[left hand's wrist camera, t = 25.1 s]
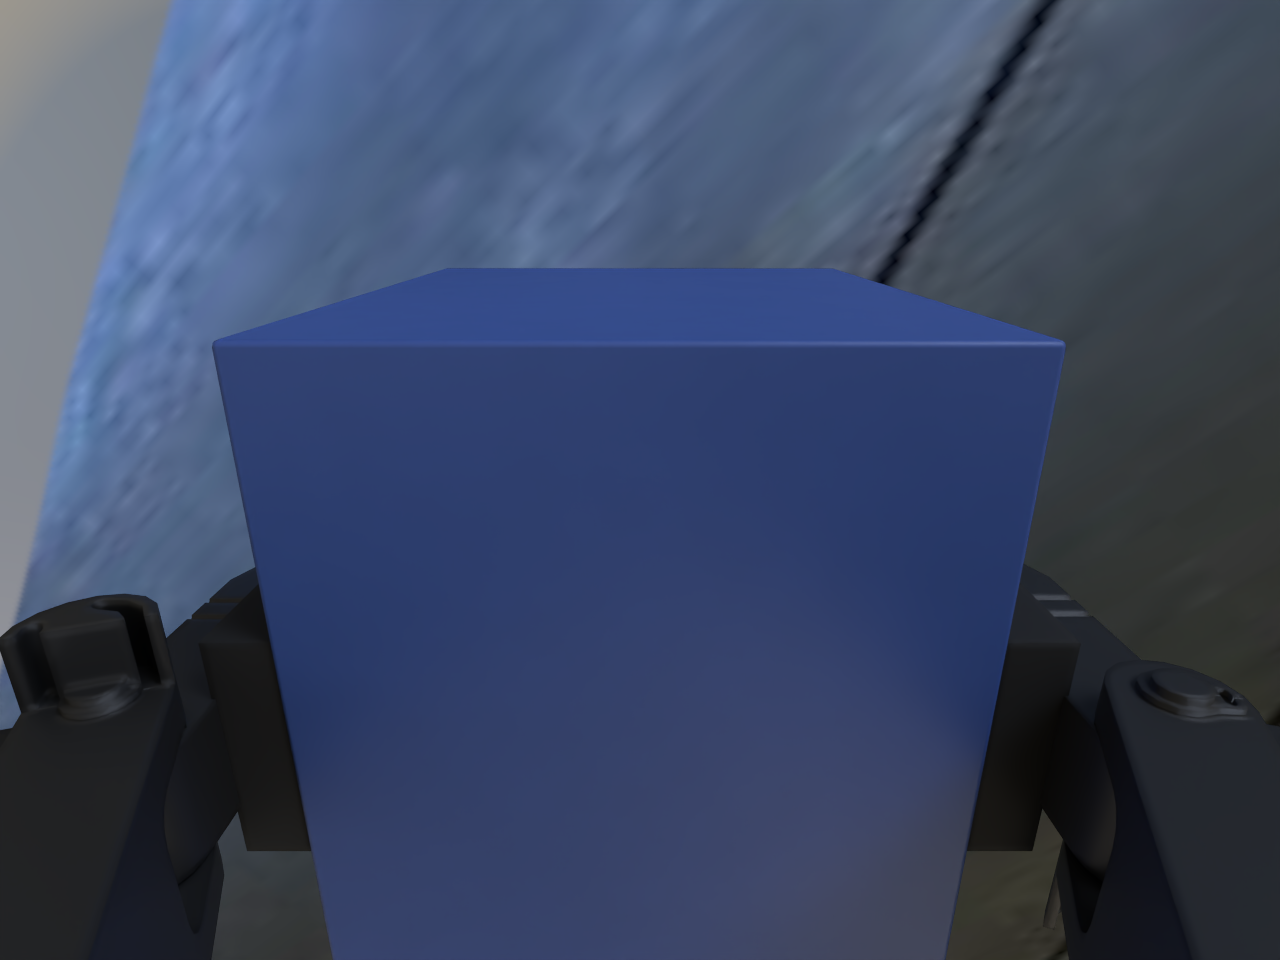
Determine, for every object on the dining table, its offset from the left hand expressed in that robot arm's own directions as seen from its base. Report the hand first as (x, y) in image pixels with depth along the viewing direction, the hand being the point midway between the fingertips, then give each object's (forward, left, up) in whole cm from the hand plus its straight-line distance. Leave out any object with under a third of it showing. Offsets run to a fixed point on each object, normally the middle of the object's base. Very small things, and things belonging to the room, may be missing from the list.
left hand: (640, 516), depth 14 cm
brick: (0, 0, -2) cm, 2 cm away
